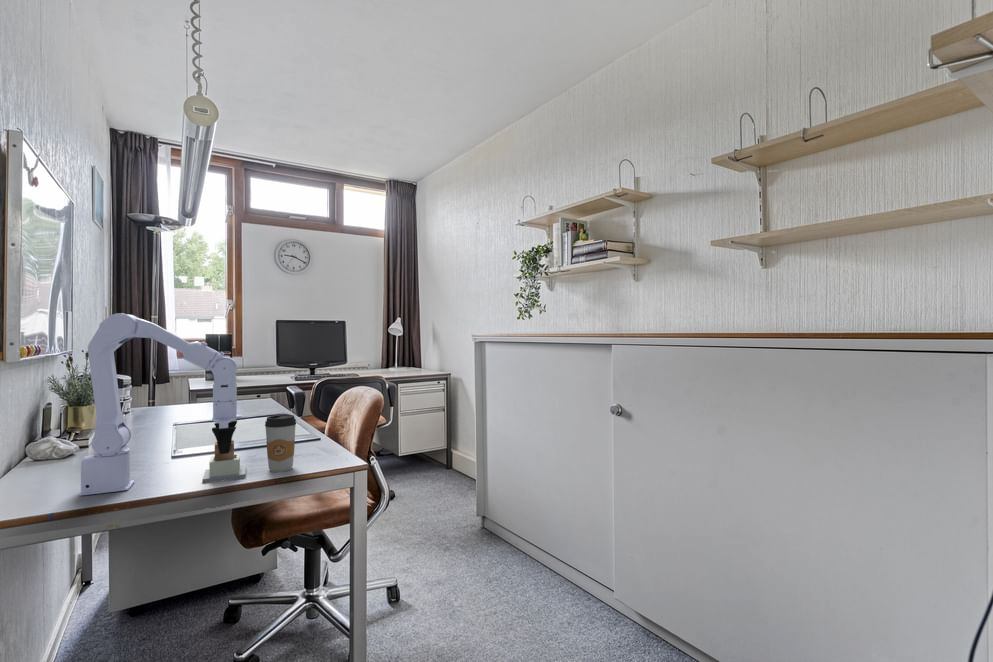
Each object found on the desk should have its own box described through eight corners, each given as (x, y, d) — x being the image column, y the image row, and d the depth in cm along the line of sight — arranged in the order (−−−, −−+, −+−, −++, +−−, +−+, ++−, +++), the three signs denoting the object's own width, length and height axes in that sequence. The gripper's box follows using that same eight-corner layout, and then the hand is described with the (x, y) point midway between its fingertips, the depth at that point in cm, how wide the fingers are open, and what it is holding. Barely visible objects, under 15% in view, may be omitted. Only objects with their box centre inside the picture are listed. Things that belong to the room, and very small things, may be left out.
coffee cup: (262, 474, 137) (262, 420, 137) (267, 466, 145) (267, 415, 145) (294, 471, 139) (294, 418, 139) (298, 464, 147) (298, 413, 147)
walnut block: (214, 463, 132) (214, 445, 132) (215, 460, 137) (215, 441, 137) (233, 461, 135) (233, 443, 135) (234, 458, 139) (234, 440, 139)
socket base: (202, 483, 129) (202, 464, 129) (205, 473, 138) (205, 456, 138) (245, 477, 133) (245, 460, 133) (245, 468, 142) (245, 452, 142)
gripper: (240, 403, 131) (241, 454, 131) (242, 396, 144) (242, 443, 144) (210, 404, 128) (210, 457, 128) (214, 398, 141) (214, 446, 141)
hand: (225, 450), depth 136 cm, fingers open, 7 cm apart
